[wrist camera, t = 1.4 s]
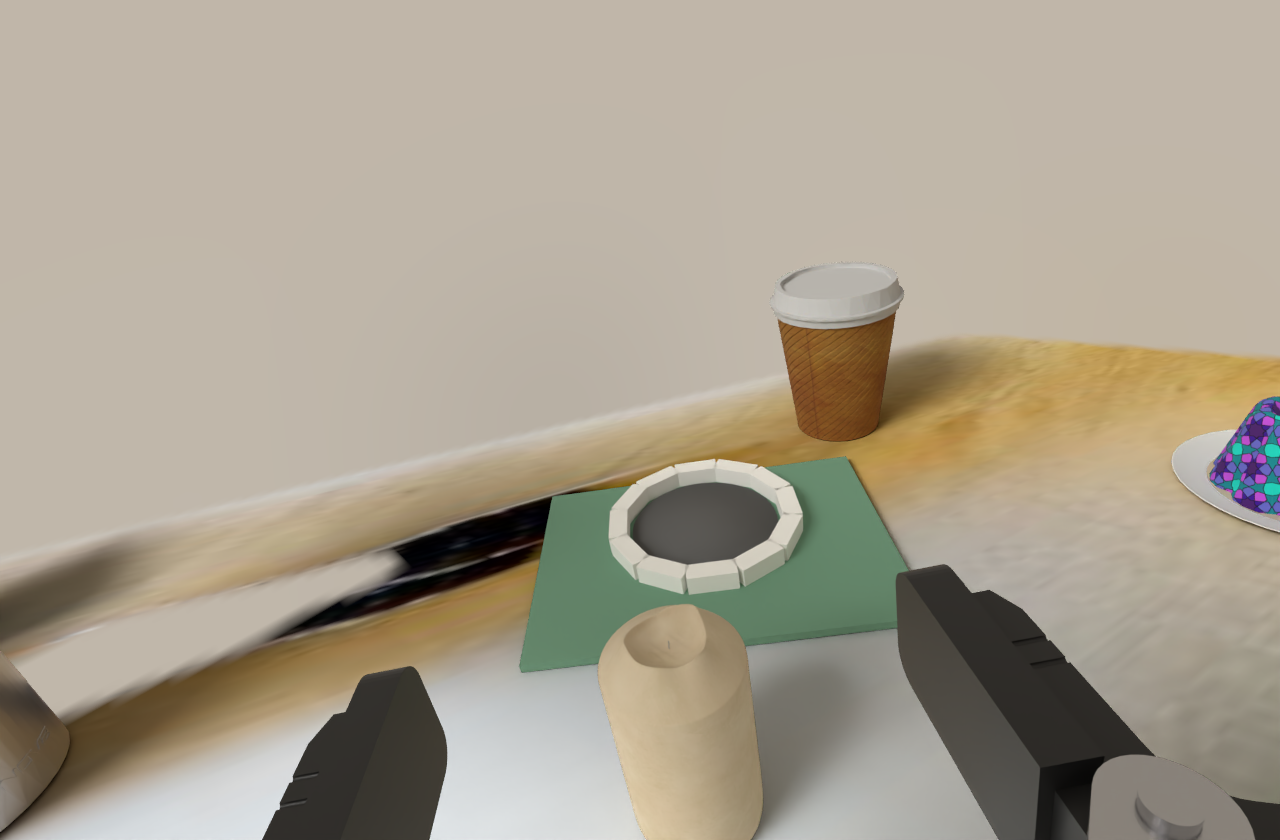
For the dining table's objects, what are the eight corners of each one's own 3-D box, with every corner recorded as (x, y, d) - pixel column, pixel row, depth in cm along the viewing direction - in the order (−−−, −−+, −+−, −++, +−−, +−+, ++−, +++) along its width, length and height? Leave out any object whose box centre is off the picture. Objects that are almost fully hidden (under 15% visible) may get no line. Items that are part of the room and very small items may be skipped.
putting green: (521, 672, 36) (513, 650, 35) (554, 500, 50) (549, 482, 49) (933, 623, 34) (935, 599, 33) (845, 460, 48) (844, 440, 48)
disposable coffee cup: (849, 385, 59) (847, 253, 53) (927, 427, 51) (935, 276, 45) (756, 417, 56) (744, 282, 51) (823, 466, 48) (818, 312, 43)
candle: (696, 720, 31) (667, 558, 27) (791, 796, 27) (776, 622, 23) (609, 804, 28) (559, 639, 24) (701, 903, 24) (663, 728, 20)
